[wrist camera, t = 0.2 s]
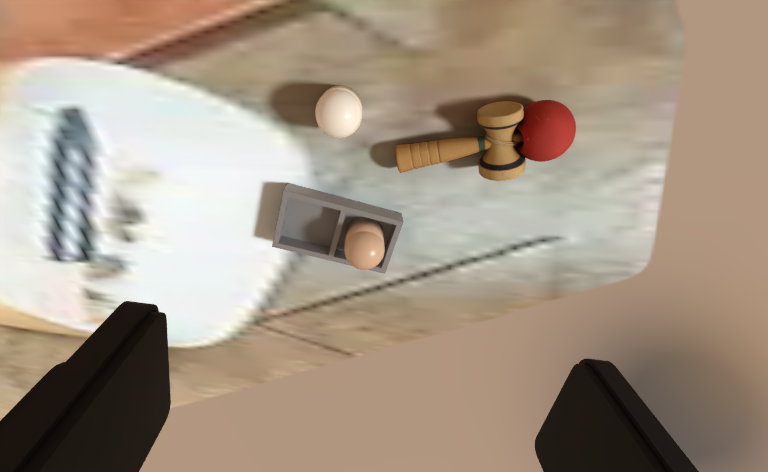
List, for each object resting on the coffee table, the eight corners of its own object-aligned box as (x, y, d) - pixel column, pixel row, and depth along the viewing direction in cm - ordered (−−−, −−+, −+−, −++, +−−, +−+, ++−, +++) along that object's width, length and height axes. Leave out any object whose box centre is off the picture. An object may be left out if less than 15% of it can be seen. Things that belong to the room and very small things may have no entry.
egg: (325, 79, 39) (318, 85, 34) (367, 92, 40) (367, 100, 34) (315, 122, 41) (307, 134, 36) (356, 134, 42) (354, 148, 36)
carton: (287, 182, 44) (275, 205, 38) (401, 213, 46) (406, 238, 40) (276, 236, 47) (263, 265, 41) (384, 263, 49) (386, 293, 43)
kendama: (406, 190, 46) (567, 161, 43) (401, 201, 40) (588, 170, 37) (394, 123, 44) (562, 88, 41) (387, 125, 38) (583, 84, 35)
